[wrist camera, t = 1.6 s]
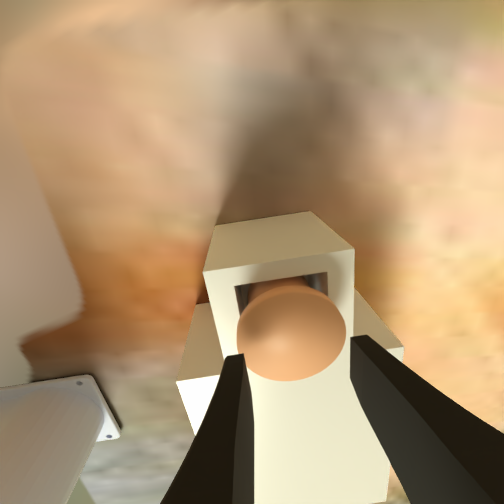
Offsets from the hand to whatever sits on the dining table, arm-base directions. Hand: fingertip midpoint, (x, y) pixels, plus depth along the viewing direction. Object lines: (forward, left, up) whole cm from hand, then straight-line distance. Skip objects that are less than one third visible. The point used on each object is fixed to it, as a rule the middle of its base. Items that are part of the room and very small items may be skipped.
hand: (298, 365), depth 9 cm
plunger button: (0, 0, -5) cm, 5 cm away
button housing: (0, -7, -10) cm, 12 cm away
